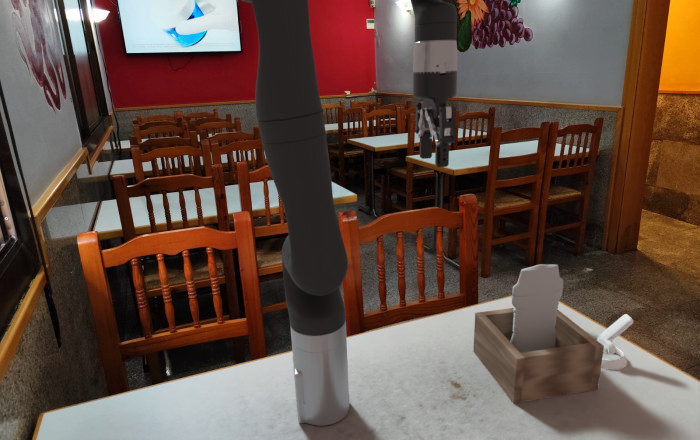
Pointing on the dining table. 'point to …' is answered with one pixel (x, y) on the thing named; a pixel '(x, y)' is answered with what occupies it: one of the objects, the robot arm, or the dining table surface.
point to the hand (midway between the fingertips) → (433, 162)
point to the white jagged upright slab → (536, 307)
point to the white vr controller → (609, 346)
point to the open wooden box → (537, 358)
